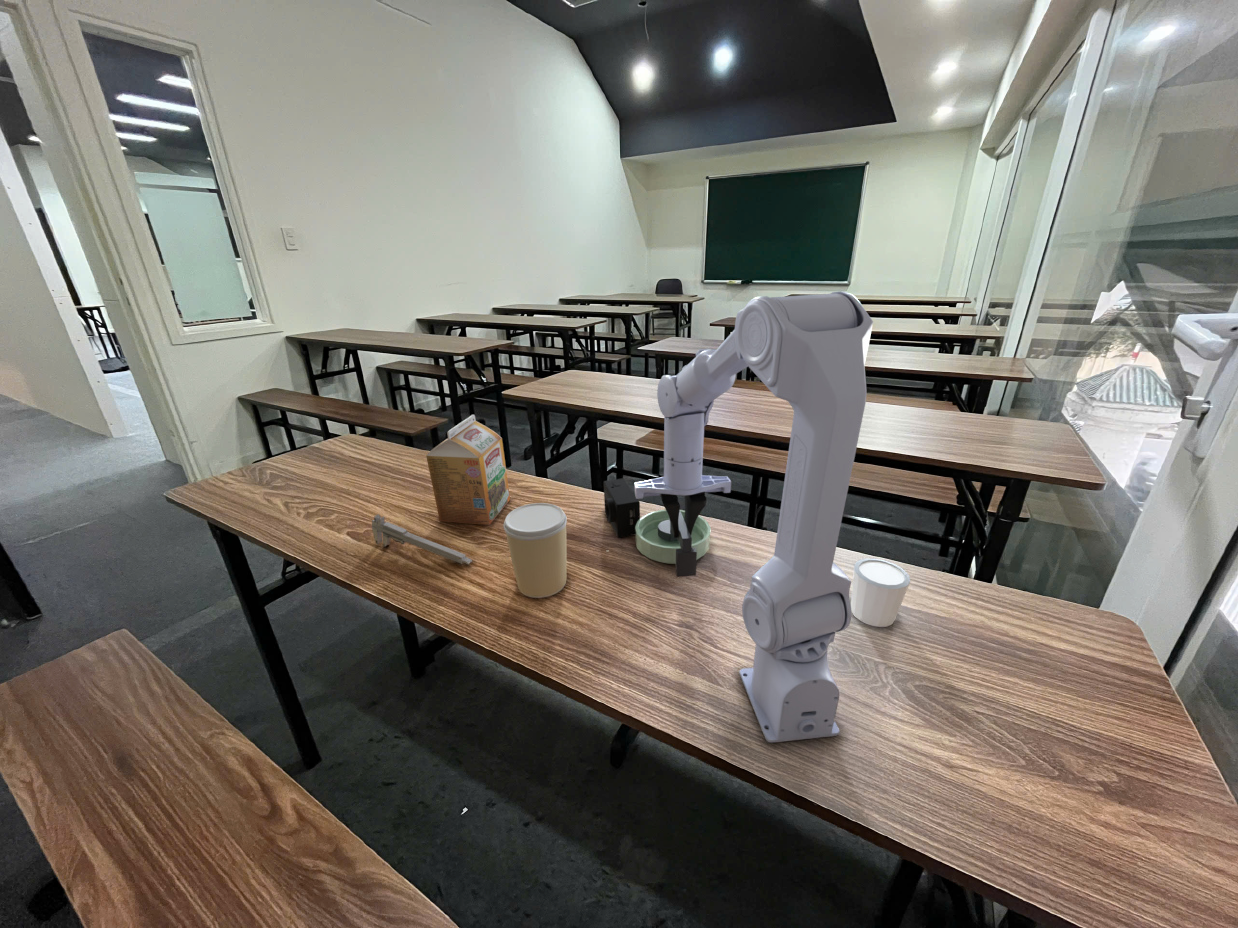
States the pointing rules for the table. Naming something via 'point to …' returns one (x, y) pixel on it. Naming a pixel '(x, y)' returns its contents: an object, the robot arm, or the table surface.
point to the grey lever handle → (686, 553)
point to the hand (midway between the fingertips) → (681, 533)
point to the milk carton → (469, 474)
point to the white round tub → (878, 591)
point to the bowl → (666, 550)
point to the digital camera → (621, 507)
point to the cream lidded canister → (538, 548)
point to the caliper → (412, 540)
